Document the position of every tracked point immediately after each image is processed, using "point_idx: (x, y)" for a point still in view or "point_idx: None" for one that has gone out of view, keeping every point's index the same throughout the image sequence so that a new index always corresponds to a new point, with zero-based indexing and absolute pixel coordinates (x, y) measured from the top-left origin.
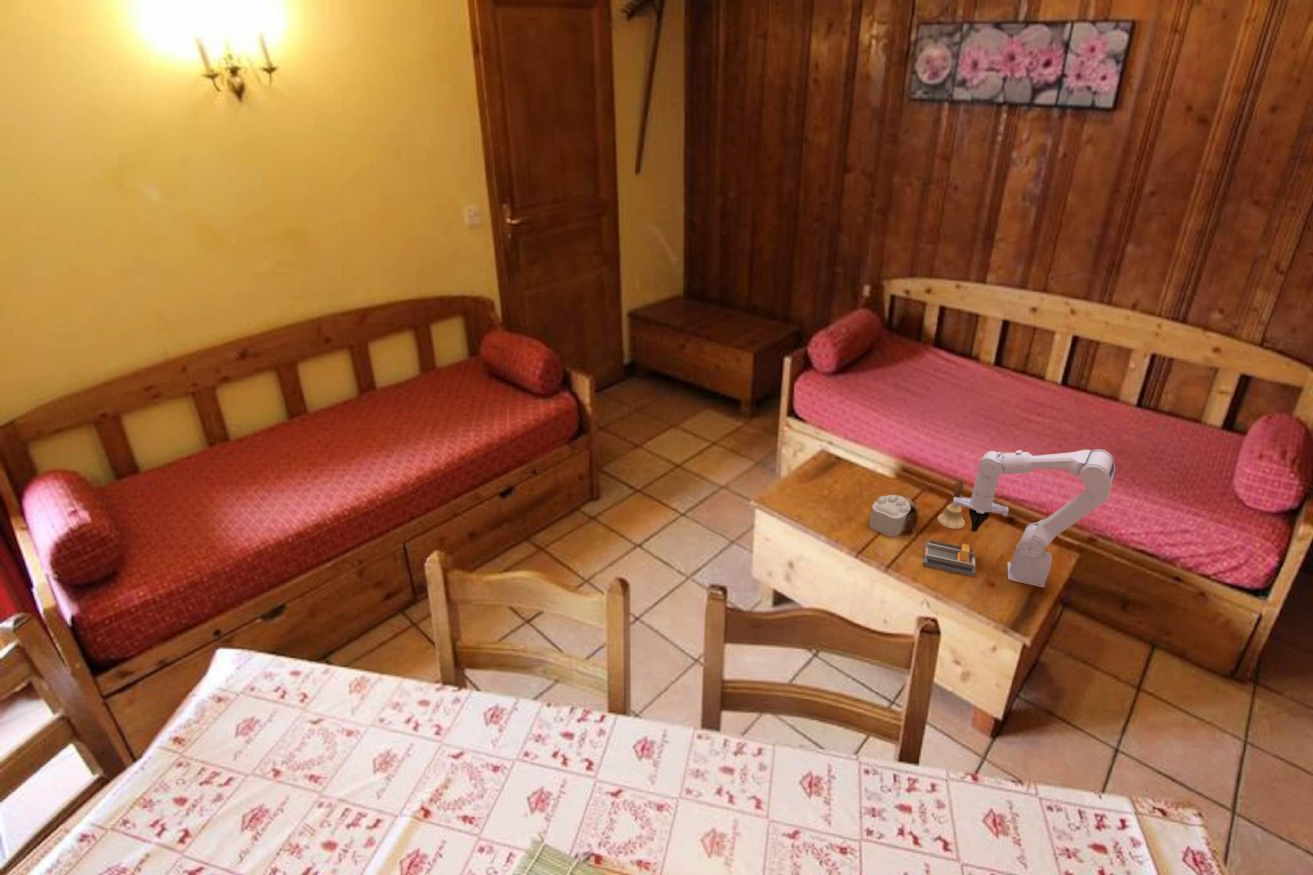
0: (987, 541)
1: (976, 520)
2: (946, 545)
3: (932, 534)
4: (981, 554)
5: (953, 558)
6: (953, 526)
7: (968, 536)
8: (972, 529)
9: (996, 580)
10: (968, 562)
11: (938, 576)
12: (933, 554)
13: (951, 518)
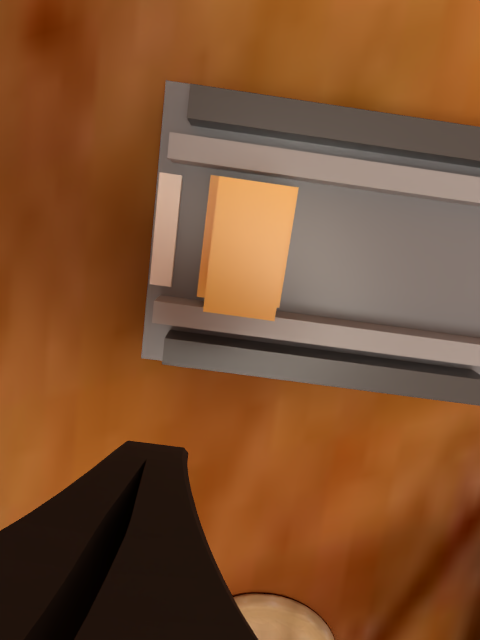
0: None
1: (100, 590)
2: (363, 364)
3: (394, 516)
4: (99, 378)
5: (314, 243)
6: (254, 612)
7: None
8: (176, 457)
9: (11, 92)
10: (211, 181)
11: (442, 32)
12: (463, 258)
13: None
